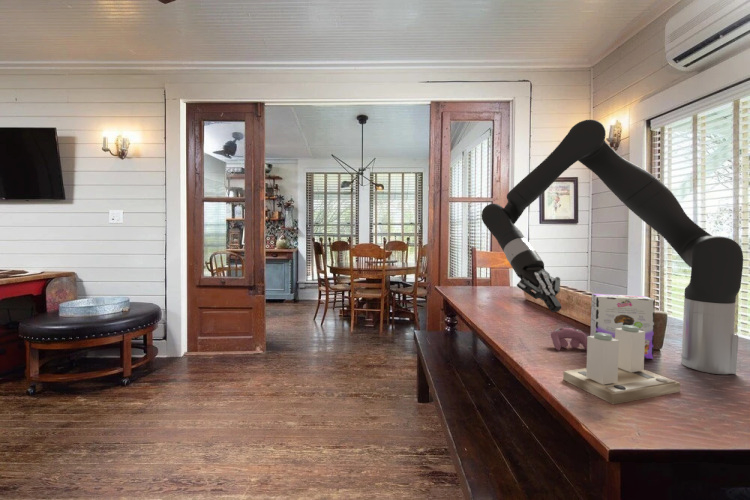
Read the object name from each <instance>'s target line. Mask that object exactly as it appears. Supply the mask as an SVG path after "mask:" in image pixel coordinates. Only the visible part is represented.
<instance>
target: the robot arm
mask: <svg viewBox="0 0 750 500" xmlns="http://www.w3.org/2000/svg"><path fill="white" fill-rule="evenodd" d="M606 132H607V131H606V128H605V125H603V124H602V122H600V121H598V120H596V119H585V120H581V121H579V122H577V123H576V124H574V125H573V126H572V127H571V128H570V130H569V131H568V132H567V134H566V135H565V137H564V138H563V139H562V140H561V142H559V143H558V145H557V146H556V147H555V149H553V151H552V152H551V153H550V154H549V155H548V156H547V157H546V158H545V159H544V160H543V161H542V162H541V163H539V165H537V166H536V167H535V168H534V169H532V170H531V172H529V173H528V174H527V175H526V176H525V177H524V178H522V179H521V180H520V181H519V182H518V183H517V184H516V185H515V186H514V187H512V189H510V191H508V193H507V194H506V199H507V203H506V204H505V206H504V207H503V206H502V205H500V204H498V203H489V204H487V205H486V206H484V208H483V209H482V211H481V221H482V223H483V225H485V227H486V228H487V230H488V231H489V233H491V234H492V236H493V237H494V238H495V239H496V242H497V243H498V245H499V246H500V248H501V250H502V252H503V253H504V256H505V258H506V259H507V261H508V263H509V264H510V266H511V268H512V269H513V271H514V273H515V275H516V276H517V277H518V278H520V279H519V282H518V283H517V284H516V287H517V288H519V289H520V290H522V291H523V292H525V293H526V294H527V295H529V296H530V297H532V298H534V299H535V300H538V299H540V300H542V302H544V304H545V306H546V307H547V308H548V310H550V311H551V313H558V312H559V311H560V310H561V309H562V304H561V303H560V301H559V300H558V298H557V295H558V294H559V293H560V290H561V278H560V277H559V276H556V277H553V276H551V275H550V273H549V271H547V270H546V269H545V262H544V261H543V260H542V258H541V257H540V256H539V254H538V252H537V251H536V249H535V248H534V247H533V245H532V244H531V243H530V242H529V241H528V239H526V237H525V235H524V234H523V233H522V231H521V230H520V229H519V228H518V227H517V226H516V225H515V224H516V223H517V221H518V220H519V219H520V217H521V216H522V215H523V213H524V212H525V210H526V209H527V208H528V207H529V206H530V205H531V204H533V202H535V201H536V200H537V199H539V197H541V195H543V194H544V192H546V191H547V189H548V188H550V186H552V184H553V183H555V181H557V179H558V178H559V177H560V176H561V175H562V174H563V173H565V171H567V170H568V169H569V168H570V167H571V166H573V165H574V164H575V163H576V162H578V163H581V164H582V165H583V166H585V167H586V168H587V169H588V170H590V172H592V173H594V174H595V175H596V176H597V177H598V178H599V179H600V180H601V182H603V184H604V185H605V186H606V187H607V189H609V190H610V191H611V193H612V194H614V195H615V197H616V198H618V199H619V201H621V203H623V205H625V206H626V207H627V208H628V209H629V210H630V211H631V212H633V214H635V215H636V216H637V217H638V218H639V219H640V220H642V221H643V222H644V223H645V224H646V225H648V227H650V228H652V229H653V230H654V231H655V232H656V233H658V234H659V235H661V237H662V238H663V239H664V240H665V241H666V242H667V243H668V244H669V246H670V247H671V248H673V250H674V251H675V253H677V254H678V256H679V257H680V258H681V259H682V260H683V262H684V263H685V264H686V265H687V266H689V267H690V281H689V283H688V284H687V286H686V287H685V289H684V295H683V297H684V299H683V300H684V301H683V319H682V321H683V322H682V337H681V338H682V341H681V356H680V357H681V358H680V359H681V361H680V362H681V364H682V365H683V366H685V367H687V368H689V369H692V370H696V371H699V372H703V373H707V374H715V375H737V373H738V371H737V369H738V368H737V367H738V355H739V354H738V350H739V349H738V348H739V334H736V333H735V318H736V317H735V315H736V301H737V300H736V299H737V296H738V294H739V292H740V289H741V286H742V285H741V284H742V277H743V267H744V265H743V264H744V254H743V249H742V248H741V245H740V244H739V243H737V242H736V240H734V239H732V238H729V237H727V236H718V235H712V234H710V233H709V232H707V231H706V230H705V229H704V228H702V227H701V226H700V225H698V224H697V223H696V222H695V221H693V219H691V218H690V217H689V216H688V214H687V213H686V212H685V209H683V207H682V206H681V204H680V201H678V199H677V197H676V196H675V195H674V193H673V192H672V191H671V190H670V189H669V188H668V187H667V186H666V185H665V184H663V182H662V181H660V180H659V179H658V178H657V177H656V176H654V174H652V173H650V172H649V171H648V170H646V169H644V168H642V167H641V166H639V165H637V164H635V163H633V162H631V161H630V160H627V159H625V158H624V157H623V156H621V155H619V153H618V152H616V151H615V150H614V148H612V147H611V146H610V145H609V144H608V142H606Z"/></svg>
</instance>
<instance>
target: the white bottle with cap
mask: <svg viewBox="0 0 750 500" xmlns="http://www.w3.org/2000/svg"><path fill="white" fill-rule="evenodd" d="M618 355H619V340H617V339H613V338H612V335H610V334H607V333H599V332H597V333H594V336H590V335H588V336H587V350H586V367H585V368H586V377H587V378H589V379H592V380H594V381H596V382H598V383H601V384H603V385H604V384H610V383H616V382H617V380H618Z"/></svg>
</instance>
